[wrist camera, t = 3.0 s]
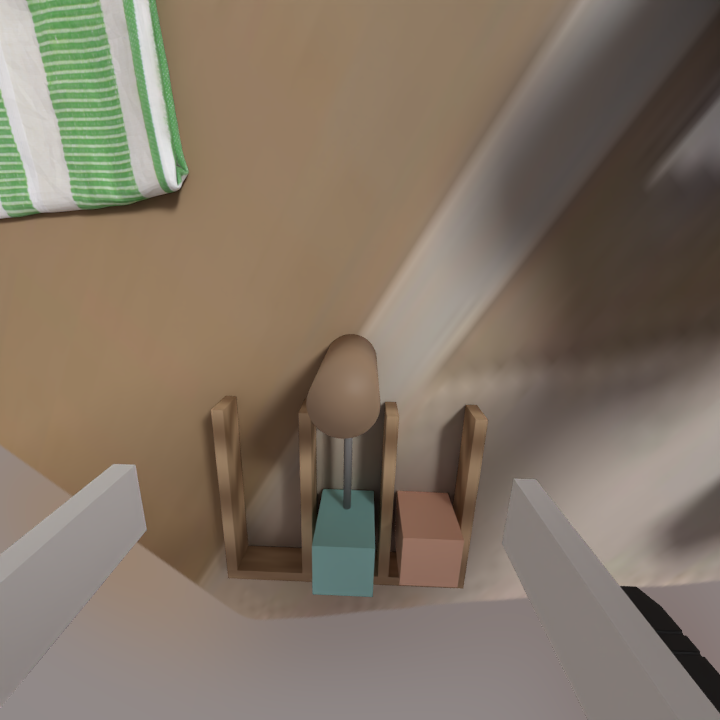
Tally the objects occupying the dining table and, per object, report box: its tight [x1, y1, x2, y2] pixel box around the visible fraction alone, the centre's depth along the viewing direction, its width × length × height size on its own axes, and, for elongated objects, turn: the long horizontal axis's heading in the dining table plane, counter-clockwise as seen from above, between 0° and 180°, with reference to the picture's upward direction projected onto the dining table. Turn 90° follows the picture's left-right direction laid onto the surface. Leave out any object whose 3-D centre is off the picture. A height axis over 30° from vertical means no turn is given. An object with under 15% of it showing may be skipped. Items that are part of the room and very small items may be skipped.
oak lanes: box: [211, 396, 488, 588], centre depth 32 cm, size 18×23×3 cm
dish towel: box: [0, 0, 189, 219], centre depth 24 cm, size 18×23×3 cm
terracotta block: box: [394, 491, 464, 587], centre depth 31 cm, size 5×5×6 cm
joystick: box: [306, 334, 380, 597], centre depth 27 cm, size 21×5×10 cm, turn 178°
